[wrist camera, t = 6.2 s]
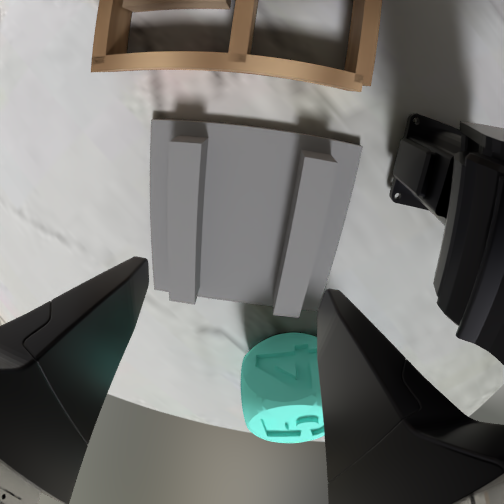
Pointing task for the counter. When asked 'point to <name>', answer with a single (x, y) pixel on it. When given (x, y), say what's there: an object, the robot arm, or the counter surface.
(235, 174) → the holder
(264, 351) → the decorative dice
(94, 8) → the counter surface
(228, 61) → the rack
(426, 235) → the counter surface
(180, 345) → the counter surface
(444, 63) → the counter surface
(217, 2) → the offcut stack
